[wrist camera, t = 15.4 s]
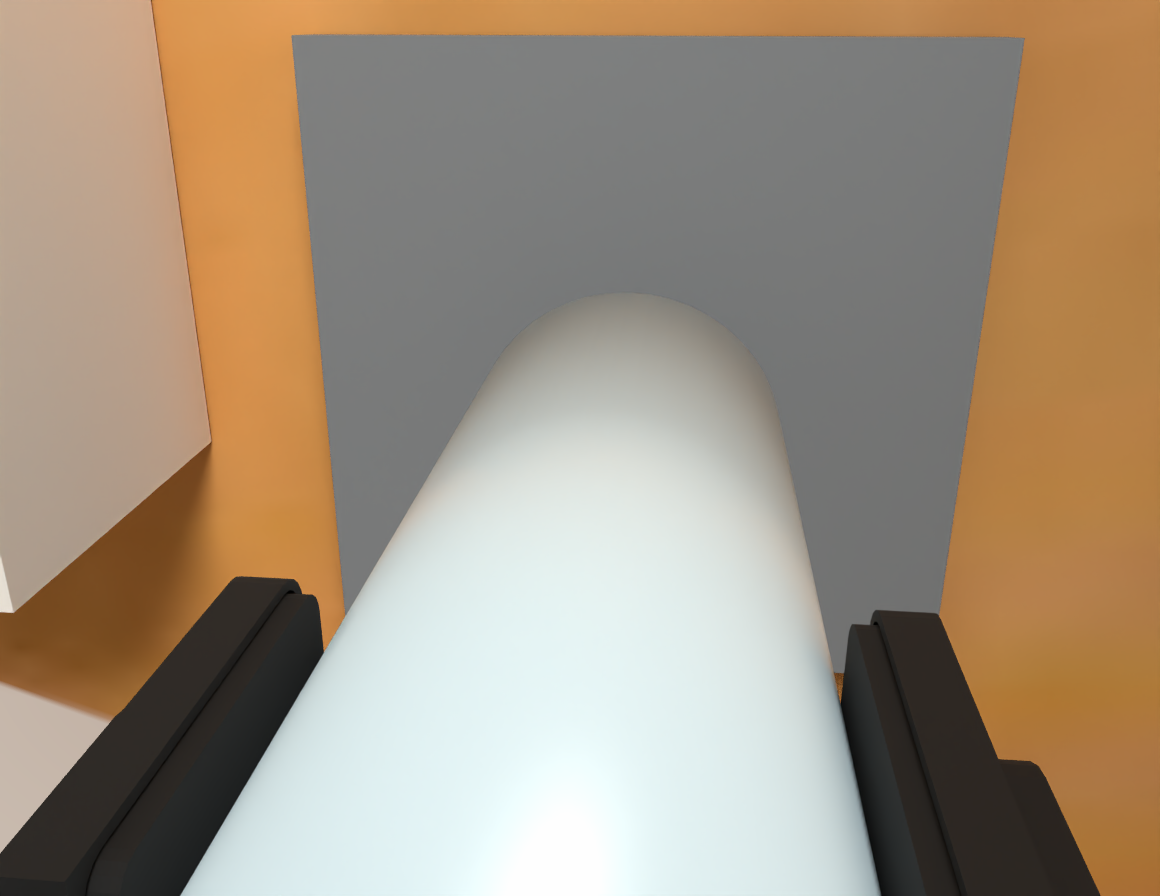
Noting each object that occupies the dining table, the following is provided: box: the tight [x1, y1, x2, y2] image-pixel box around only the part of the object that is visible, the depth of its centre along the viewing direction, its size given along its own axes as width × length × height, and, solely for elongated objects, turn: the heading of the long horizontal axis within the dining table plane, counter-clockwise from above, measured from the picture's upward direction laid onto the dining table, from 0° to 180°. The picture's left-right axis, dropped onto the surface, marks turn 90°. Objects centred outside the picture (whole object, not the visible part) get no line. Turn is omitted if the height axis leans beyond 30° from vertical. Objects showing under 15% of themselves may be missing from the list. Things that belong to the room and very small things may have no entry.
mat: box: [292, 35, 1025, 673], centre depth 20 cm, size 12×12×1 cm
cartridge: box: [180, 293, 881, 896], centre depth 11 cm, size 6×6×14 cm
